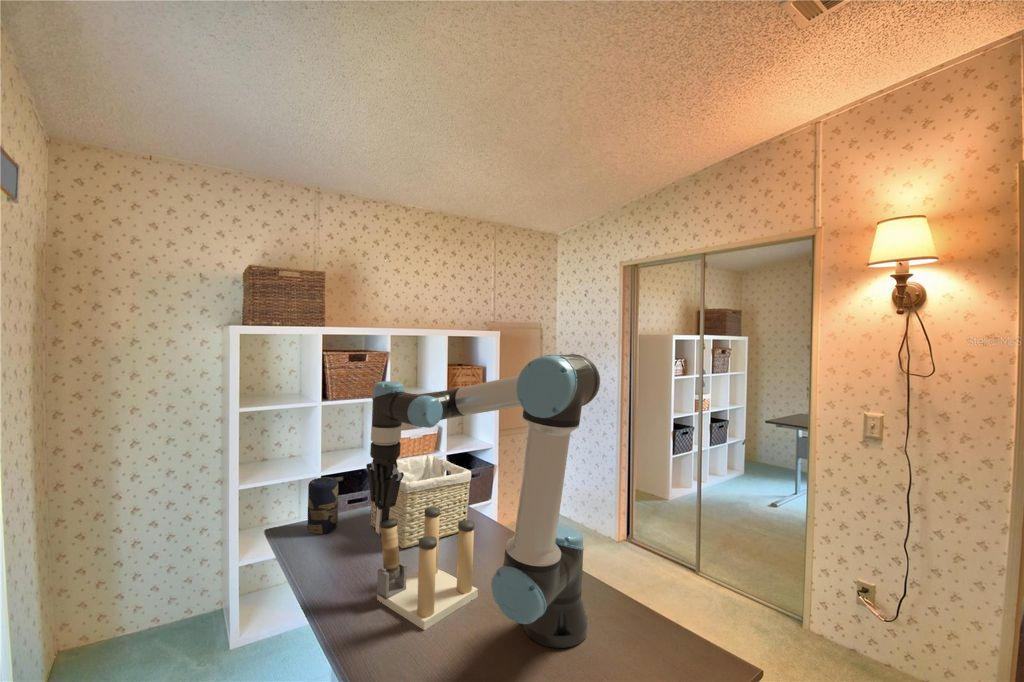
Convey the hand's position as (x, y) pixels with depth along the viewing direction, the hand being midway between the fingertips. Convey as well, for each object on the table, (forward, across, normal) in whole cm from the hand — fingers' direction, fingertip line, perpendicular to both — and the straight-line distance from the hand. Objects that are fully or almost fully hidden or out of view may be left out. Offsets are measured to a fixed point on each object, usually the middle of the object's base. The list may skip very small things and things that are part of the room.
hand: (381, 531), depth 119 cm
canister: (+18, +45, -9) cm, 49 cm away
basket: (+17, +23, -33) cm, 43 cm away
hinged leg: (+4, -2, 0) cm, 4 cm away
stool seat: (+16, -12, -6) cm, 21 cm away
